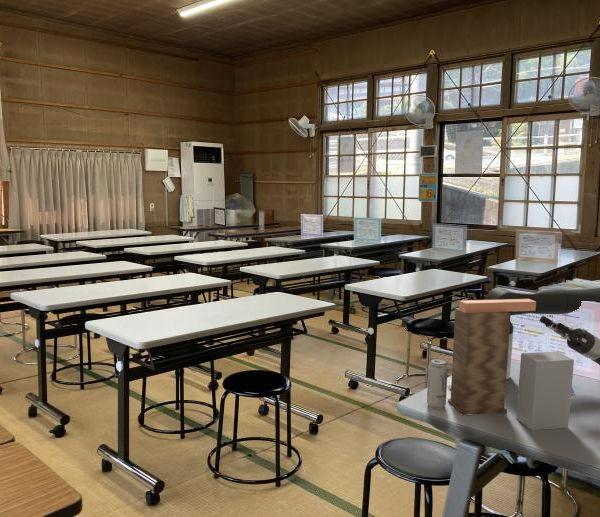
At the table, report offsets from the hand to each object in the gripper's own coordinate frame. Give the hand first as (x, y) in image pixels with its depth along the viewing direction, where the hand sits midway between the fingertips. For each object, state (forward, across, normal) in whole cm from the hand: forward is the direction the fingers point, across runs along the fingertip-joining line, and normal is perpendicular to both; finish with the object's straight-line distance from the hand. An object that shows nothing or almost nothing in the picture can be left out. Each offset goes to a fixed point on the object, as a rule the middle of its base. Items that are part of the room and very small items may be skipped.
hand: (549, 321), depth 179 cm
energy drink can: (+17, +3, -42) cm, 46 cm away
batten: (+18, 0, -6) cm, 19 cm away
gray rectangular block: (-6, -14, -29) cm, 32 cm away
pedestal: (+6, 0, -36) cm, 36 cm away
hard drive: (-27, +13, -17) cm, 35 cm away
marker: (+3, +11, -34) cm, 36 cm away
